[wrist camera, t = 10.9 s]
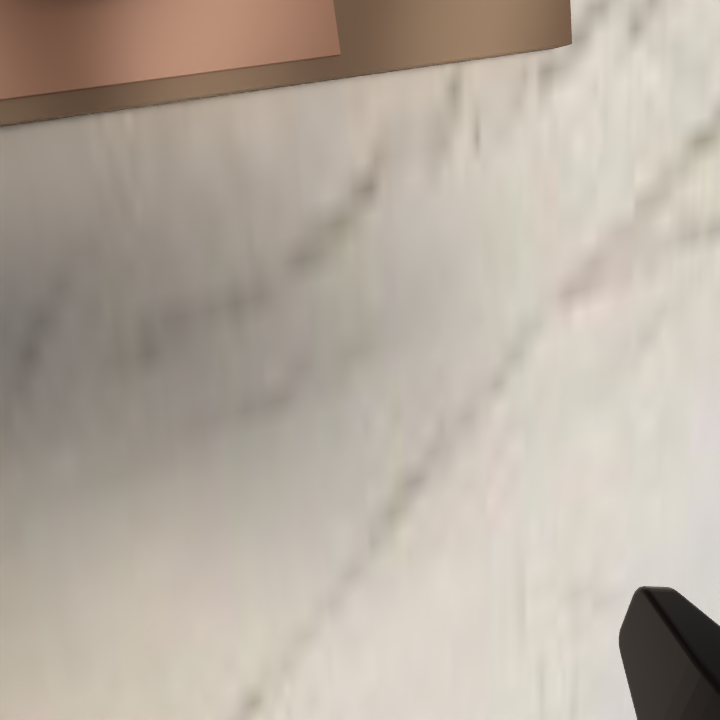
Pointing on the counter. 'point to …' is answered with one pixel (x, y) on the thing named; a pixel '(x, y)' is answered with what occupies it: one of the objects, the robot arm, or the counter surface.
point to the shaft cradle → (241, 46)
